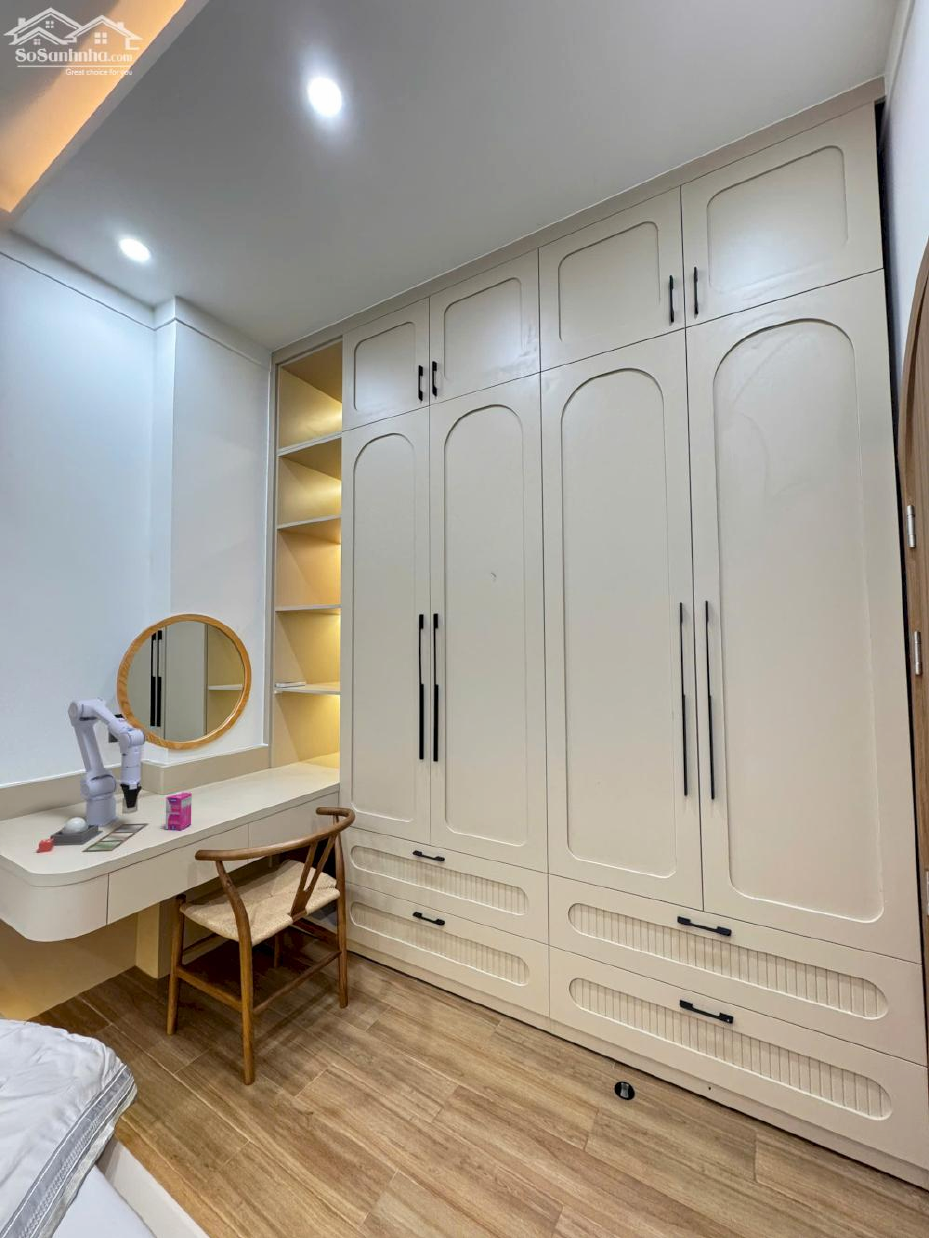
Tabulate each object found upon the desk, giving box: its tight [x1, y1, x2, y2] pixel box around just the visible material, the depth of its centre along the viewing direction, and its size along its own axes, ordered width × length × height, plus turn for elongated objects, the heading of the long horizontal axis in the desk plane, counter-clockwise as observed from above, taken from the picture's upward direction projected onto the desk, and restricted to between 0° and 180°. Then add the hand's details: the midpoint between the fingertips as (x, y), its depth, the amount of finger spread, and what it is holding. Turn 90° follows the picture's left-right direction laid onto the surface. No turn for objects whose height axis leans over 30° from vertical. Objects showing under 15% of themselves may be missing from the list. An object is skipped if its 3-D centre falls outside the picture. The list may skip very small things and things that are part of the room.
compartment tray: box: [82, 822, 149, 853], centre depth 172 cm, size 23×8×1 cm, turn 7°
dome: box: [61, 816, 88, 835], centre depth 171 cm, size 7×7×6 cm
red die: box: [38, 838, 55, 854], centre depth 161 cm, size 3×3×3 cm
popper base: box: [49, 824, 103, 847], centre depth 170 cm, size 11×11×3 cm
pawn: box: [121, 796, 139, 815], centre depth 180 cm, size 4×4×7 cm
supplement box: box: [165, 791, 193, 832], centre depth 181 cm, size 6×6×12 cm
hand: (130, 805), depth 180 cm, fingers closed on pawn, 4 cm apart
